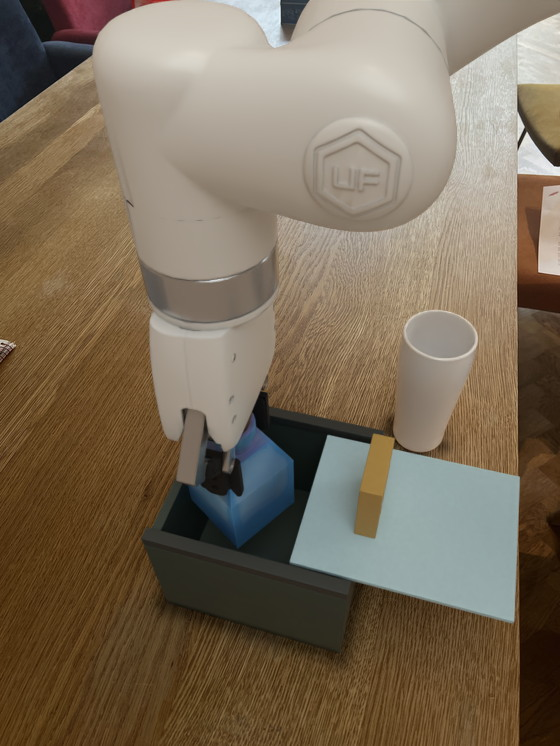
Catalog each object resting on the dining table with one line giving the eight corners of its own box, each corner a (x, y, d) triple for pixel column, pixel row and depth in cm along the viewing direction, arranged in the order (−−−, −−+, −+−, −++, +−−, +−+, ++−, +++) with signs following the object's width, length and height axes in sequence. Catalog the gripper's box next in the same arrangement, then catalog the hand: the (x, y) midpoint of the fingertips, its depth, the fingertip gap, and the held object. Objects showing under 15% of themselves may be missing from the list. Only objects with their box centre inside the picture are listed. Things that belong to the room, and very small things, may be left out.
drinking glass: (379, 451, 64) (395, 351, 53) (392, 404, 69) (409, 302, 58) (444, 467, 63) (474, 368, 52) (453, 418, 67) (483, 316, 56)
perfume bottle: (237, 548, 49) (223, 463, 40) (191, 499, 52) (168, 410, 43) (294, 502, 52) (292, 412, 43) (246, 457, 55) (235, 366, 46)
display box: (372, 504, 60) (384, 430, 51) (340, 653, 51) (347, 594, 42) (223, 468, 63) (210, 393, 55) (167, 603, 54) (140, 538, 45)
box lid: (518, 479, 49) (541, 430, 44) (512, 624, 41) (540, 583, 36) (327, 437, 52) (329, 387, 47) (289, 564, 44) (287, 520, 40)
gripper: (203, 177, 40) (228, 366, 53) (71, 361, 29) (144, 542, 42) (315, 192, 38) (312, 383, 52) (220, 393, 27) (247, 570, 41)
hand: (236, 453), depth 47 cm, fingers closed on perfume bottle, 5 cm apart
